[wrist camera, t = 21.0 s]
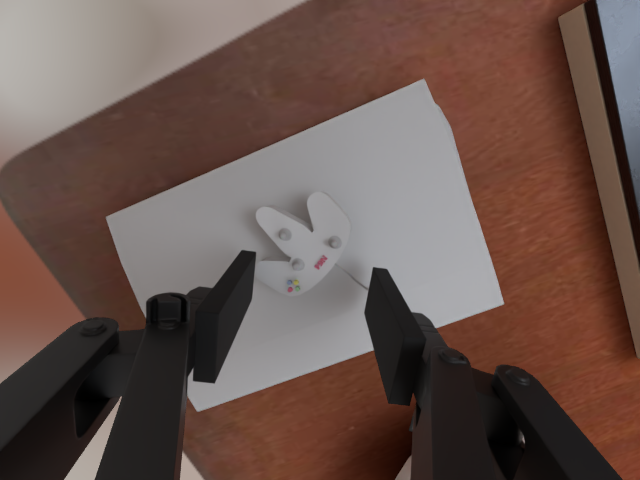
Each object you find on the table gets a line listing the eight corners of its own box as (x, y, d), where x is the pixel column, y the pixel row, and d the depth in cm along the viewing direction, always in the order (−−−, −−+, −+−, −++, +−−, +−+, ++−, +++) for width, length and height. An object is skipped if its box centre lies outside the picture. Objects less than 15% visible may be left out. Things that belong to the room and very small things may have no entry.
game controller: (272, 171, 17) (265, 175, 15) (468, 240, 18) (492, 255, 16) (242, 266, 19) (231, 285, 16) (425, 325, 20) (441, 351, 17)
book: (497, 292, 23) (531, 320, 20) (212, 393, 26) (193, 436, 22) (435, 75, 19) (463, 58, 16) (106, 218, 22) (62, 232, 18)
